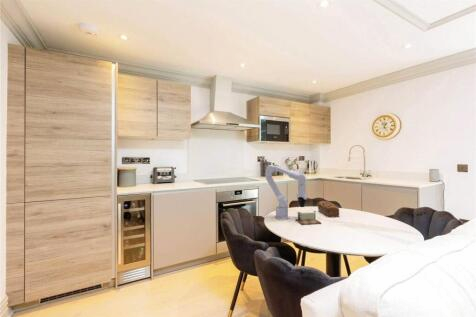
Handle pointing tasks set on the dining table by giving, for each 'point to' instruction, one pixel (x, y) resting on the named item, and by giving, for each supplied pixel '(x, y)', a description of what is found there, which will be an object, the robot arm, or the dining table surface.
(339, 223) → the dining table surface
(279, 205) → the robot arm
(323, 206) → the bread
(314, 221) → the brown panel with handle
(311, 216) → the gate leaf
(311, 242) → the dining table surface
